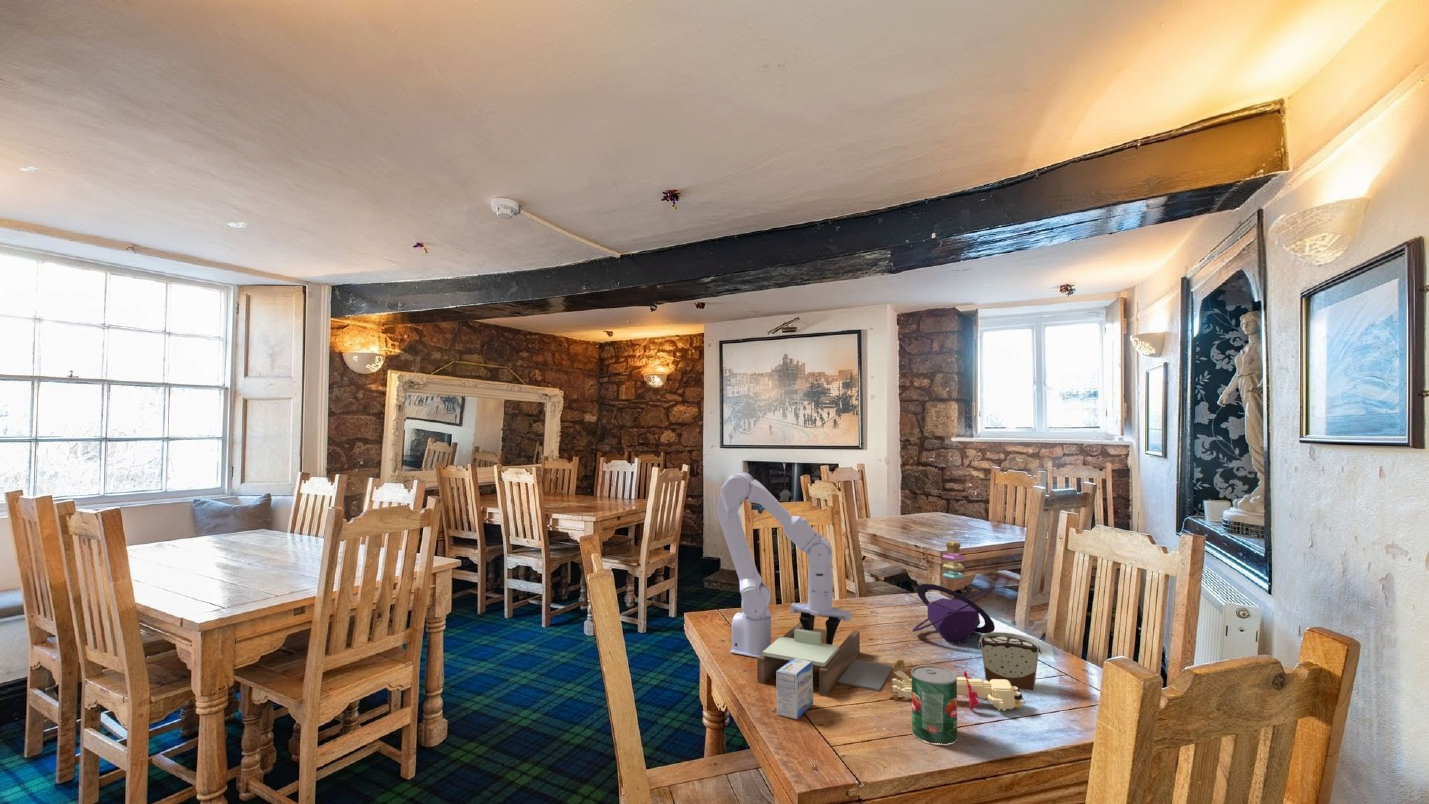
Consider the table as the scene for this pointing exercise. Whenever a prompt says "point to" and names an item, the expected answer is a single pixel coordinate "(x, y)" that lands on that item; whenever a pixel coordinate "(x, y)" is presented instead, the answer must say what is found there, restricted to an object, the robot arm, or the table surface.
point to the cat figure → (968, 689)
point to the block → (824, 634)
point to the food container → (1010, 659)
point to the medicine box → (794, 688)
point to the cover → (802, 648)
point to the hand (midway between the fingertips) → (820, 646)
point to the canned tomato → (934, 704)
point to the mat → (866, 675)
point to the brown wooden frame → (826, 674)
